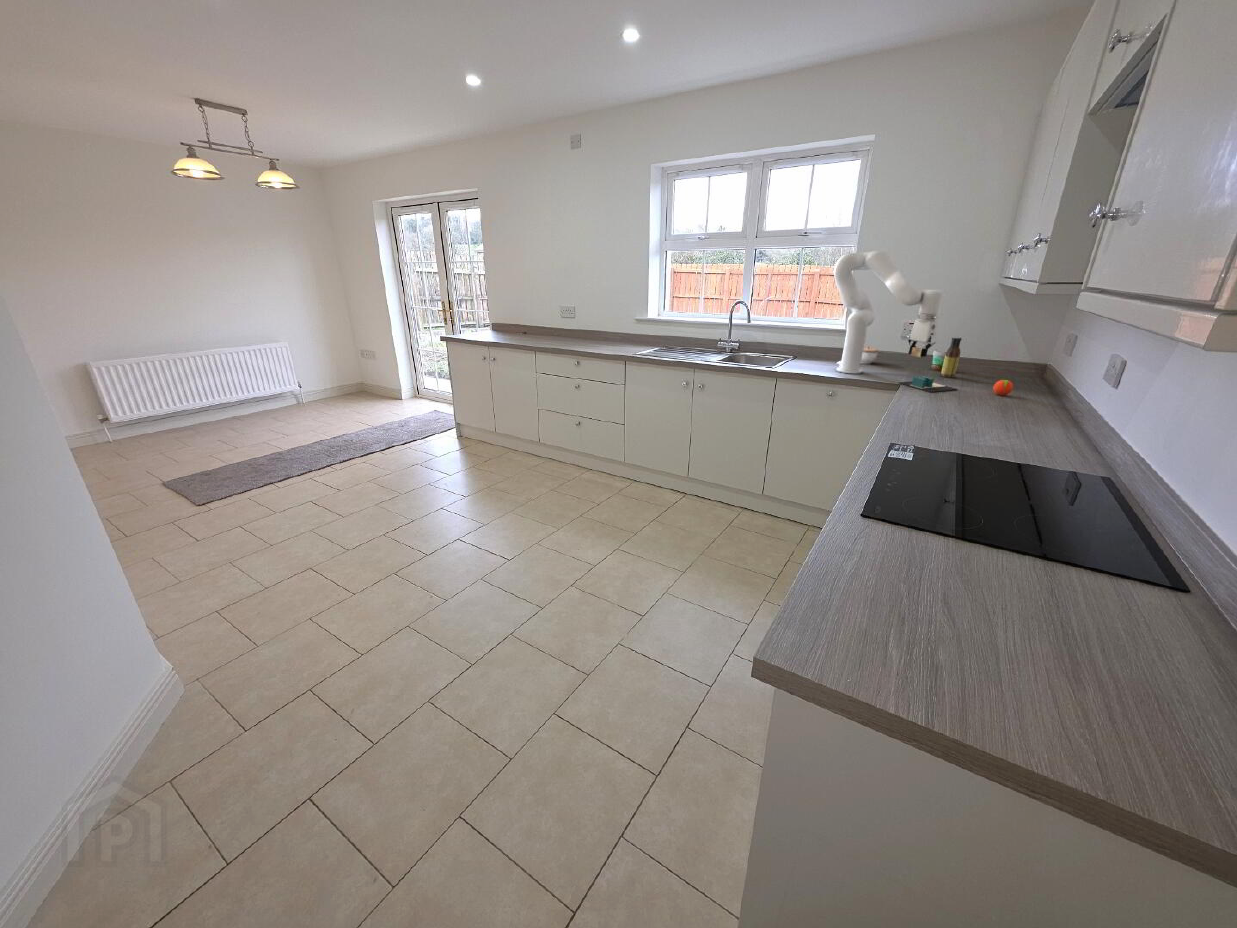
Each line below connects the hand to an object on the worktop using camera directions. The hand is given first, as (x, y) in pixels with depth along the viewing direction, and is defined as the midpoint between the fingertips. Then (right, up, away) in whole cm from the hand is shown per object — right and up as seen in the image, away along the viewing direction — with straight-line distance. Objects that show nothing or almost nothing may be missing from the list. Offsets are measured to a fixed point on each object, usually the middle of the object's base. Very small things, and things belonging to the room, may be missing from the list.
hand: (917, 355), depth 237 cm
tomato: (+25, -23, -20) cm, 40 cm away
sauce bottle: (+23, -8, +13) cm, 28 cm away
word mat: (+1, -17, -7) cm, 18 cm away
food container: (+28, -2, +27) cm, 39 cm away
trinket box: (-3, +5, +45) cm, 45 cm away
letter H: (-3, -17, -8) cm, 19 cm away
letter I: (0, -1, 0) cm, 1 cm away
